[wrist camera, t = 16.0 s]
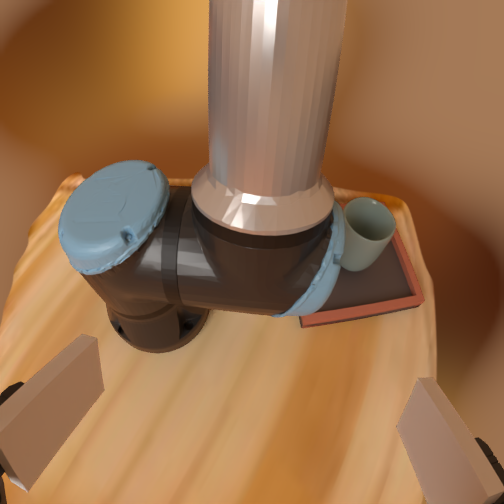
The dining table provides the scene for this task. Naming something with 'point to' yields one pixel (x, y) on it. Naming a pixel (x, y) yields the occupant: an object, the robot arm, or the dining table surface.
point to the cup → (365, 232)
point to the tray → (371, 289)
